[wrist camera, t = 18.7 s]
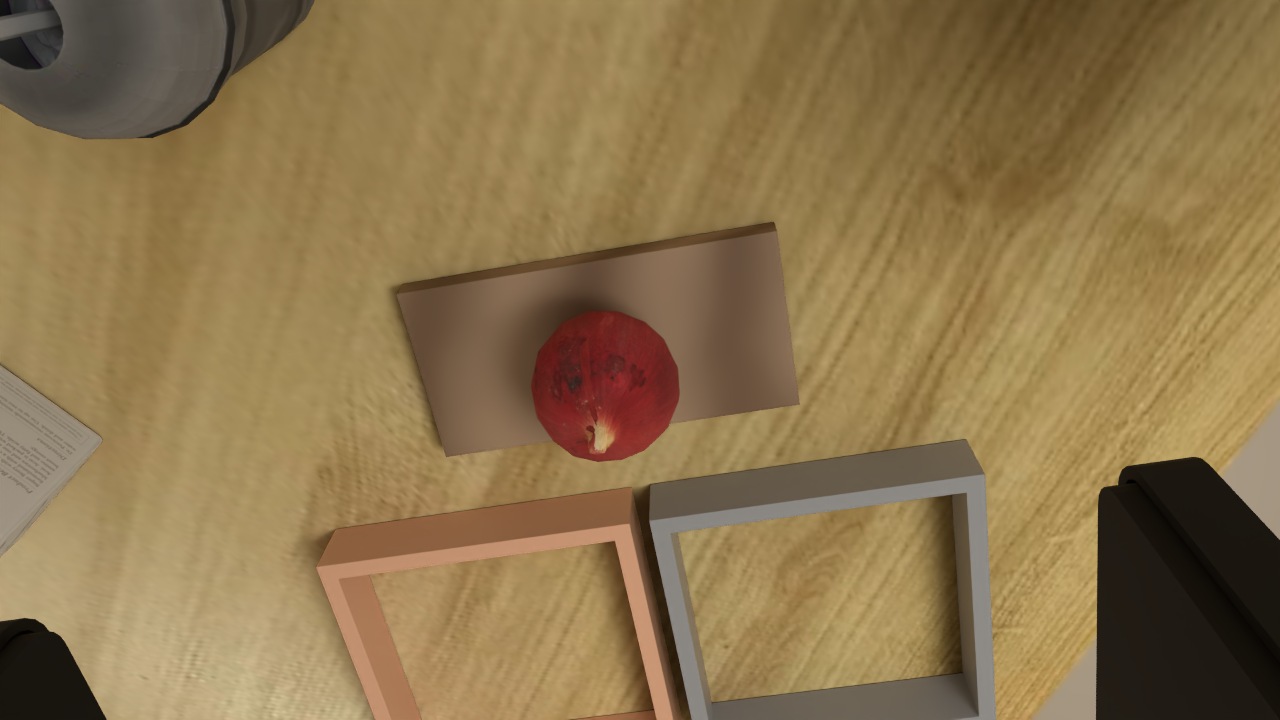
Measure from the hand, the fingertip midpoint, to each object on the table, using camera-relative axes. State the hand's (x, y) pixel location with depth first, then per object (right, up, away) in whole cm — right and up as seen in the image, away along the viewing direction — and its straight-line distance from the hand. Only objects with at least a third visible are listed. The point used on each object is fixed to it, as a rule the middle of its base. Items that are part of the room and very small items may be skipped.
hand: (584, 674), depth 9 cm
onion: (-1, +3, +34) cm, 34 cm away
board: (-1, +4, +35) cm, 35 cm away
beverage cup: (-14, +17, +29) cm, 37 cm away
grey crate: (+9, -8, +40) cm, 42 cm away
